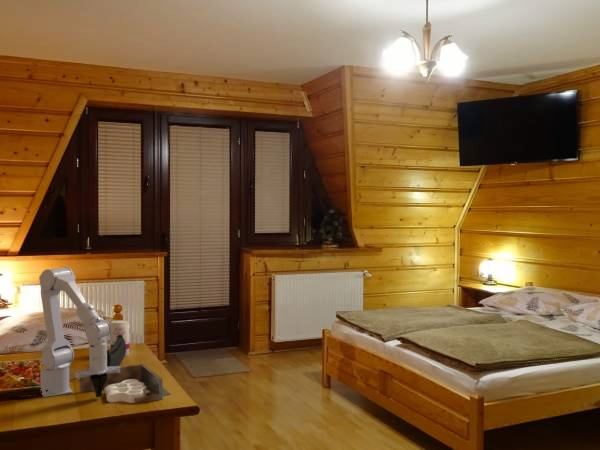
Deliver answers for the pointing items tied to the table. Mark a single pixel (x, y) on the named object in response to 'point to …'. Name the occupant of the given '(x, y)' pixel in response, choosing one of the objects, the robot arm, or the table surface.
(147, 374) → the bookend
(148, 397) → the shelf wall
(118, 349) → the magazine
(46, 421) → the table surface
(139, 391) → the white multi-hole holder
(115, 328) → the supplement can
